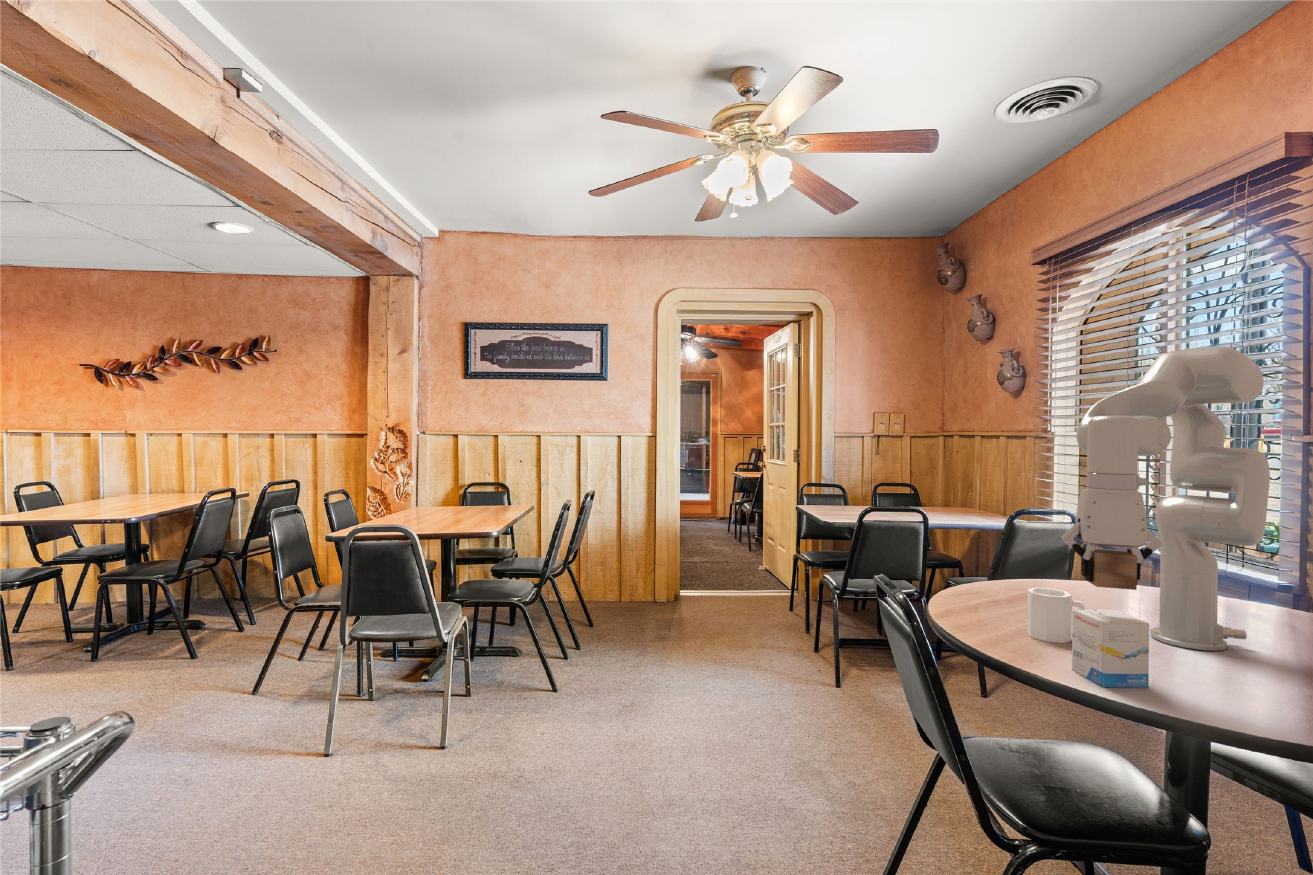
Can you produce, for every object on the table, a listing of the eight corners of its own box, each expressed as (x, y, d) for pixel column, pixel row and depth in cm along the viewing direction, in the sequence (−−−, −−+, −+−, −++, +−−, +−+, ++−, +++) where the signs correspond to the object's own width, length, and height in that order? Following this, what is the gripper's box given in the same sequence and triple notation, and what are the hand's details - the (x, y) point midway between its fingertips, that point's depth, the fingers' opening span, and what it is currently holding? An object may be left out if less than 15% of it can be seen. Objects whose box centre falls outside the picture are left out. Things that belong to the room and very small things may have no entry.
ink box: (1150, 688, 110) (1151, 622, 110) (1102, 687, 110) (1103, 621, 110) (1115, 670, 118) (1116, 608, 118) (1070, 669, 118) (1071, 607, 118)
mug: (1024, 637, 137) (1025, 592, 137) (1029, 628, 144) (1030, 585, 144) (1091, 649, 129) (1091, 602, 129) (1093, 639, 136) (1093, 594, 136)
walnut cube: (1123, 582, 116) (1123, 550, 116) (1136, 589, 110) (1137, 555, 110) (1085, 579, 118) (1085, 547, 118) (1096, 586, 112) (1097, 553, 112)
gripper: (1159, 483, 115) (1157, 581, 115) (1051, 480, 120) (1049, 573, 120) (1178, 486, 108) (1177, 591, 108) (1063, 482, 113) (1061, 582, 113)
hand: (1109, 581), depth 114 cm, fingers closed on walnut cube, 6 cm apart
